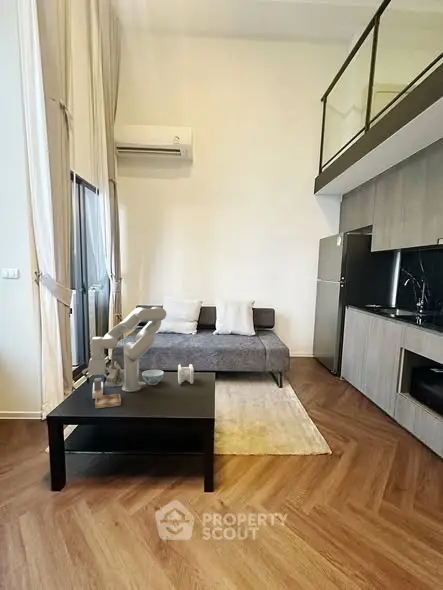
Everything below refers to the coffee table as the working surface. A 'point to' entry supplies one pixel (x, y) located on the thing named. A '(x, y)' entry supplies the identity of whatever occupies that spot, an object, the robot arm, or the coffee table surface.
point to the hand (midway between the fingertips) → (96, 383)
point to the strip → (97, 392)
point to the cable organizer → (185, 373)
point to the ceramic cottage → (115, 376)
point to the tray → (107, 401)
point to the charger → (97, 384)
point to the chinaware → (152, 376)
